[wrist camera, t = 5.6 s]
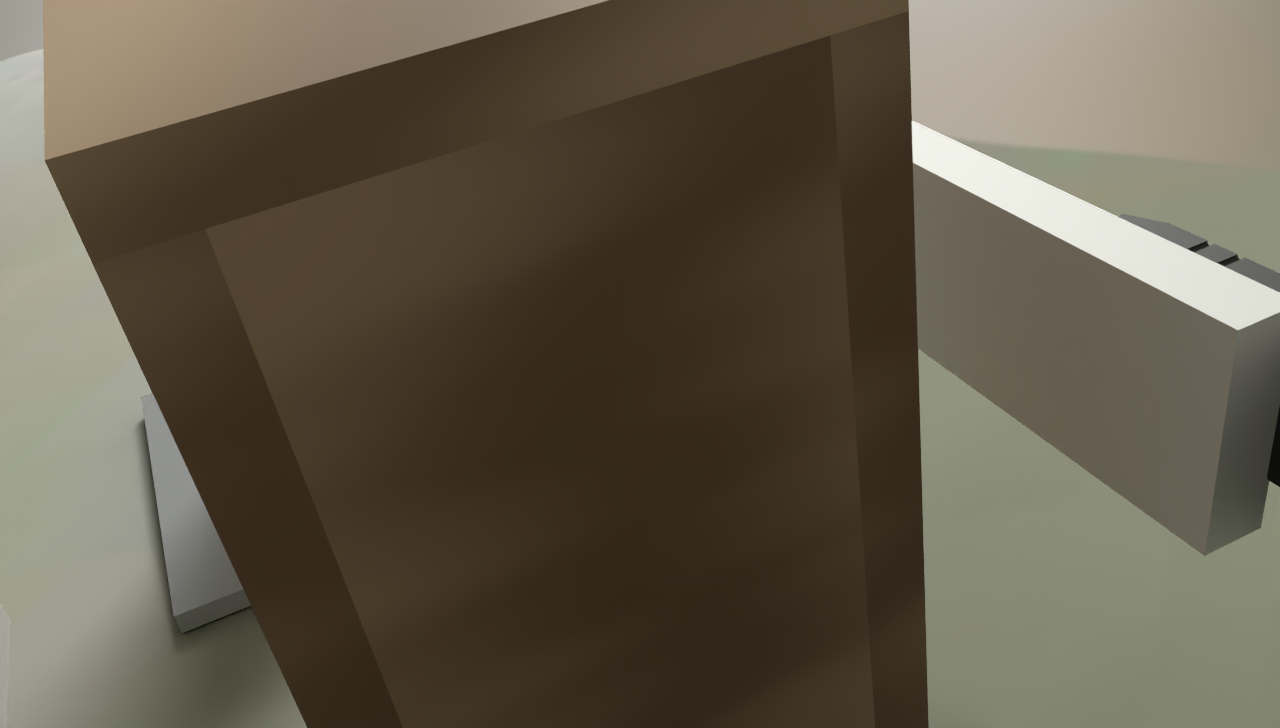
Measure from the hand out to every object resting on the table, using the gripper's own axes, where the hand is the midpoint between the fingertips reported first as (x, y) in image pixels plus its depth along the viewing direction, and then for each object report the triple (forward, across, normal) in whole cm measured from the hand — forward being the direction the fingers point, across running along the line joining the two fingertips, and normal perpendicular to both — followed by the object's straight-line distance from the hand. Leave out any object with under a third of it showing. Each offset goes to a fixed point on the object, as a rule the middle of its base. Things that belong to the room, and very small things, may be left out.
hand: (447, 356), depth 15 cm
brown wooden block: (-4, 0, -6) cm, 7 cm away
